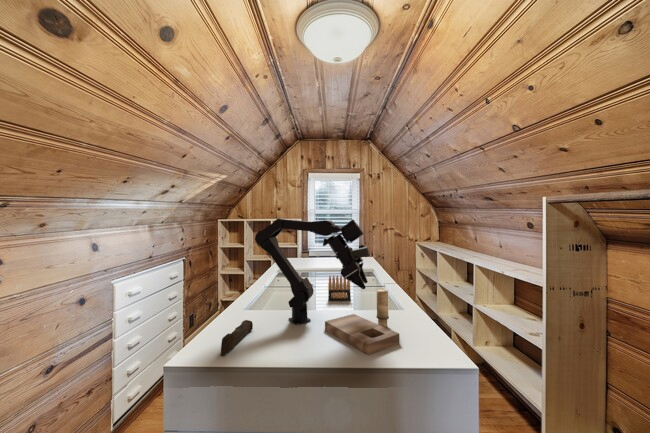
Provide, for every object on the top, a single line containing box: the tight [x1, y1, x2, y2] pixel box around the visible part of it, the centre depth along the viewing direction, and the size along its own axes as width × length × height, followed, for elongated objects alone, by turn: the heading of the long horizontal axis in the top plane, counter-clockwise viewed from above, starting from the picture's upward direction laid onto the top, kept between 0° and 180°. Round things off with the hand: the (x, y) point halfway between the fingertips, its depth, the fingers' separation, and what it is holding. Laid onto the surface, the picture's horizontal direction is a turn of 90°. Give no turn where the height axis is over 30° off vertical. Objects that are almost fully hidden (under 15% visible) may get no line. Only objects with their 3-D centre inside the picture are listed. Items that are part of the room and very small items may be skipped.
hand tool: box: [220, 319, 254, 357], centre depth 88 cm, size 19×4×5 cm, turn 171°
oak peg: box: [376, 289, 390, 328], centre depth 100 cm, size 4×4×12 cm
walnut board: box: [324, 313, 400, 356], centre depth 91 cm, size 22×13×3 cm, turn 34°
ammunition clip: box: [327, 275, 352, 302], centre depth 132 cm, size 11×2×12 cm, turn 89°
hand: (365, 285), depth 100 cm, fingers open, 9 cm apart
